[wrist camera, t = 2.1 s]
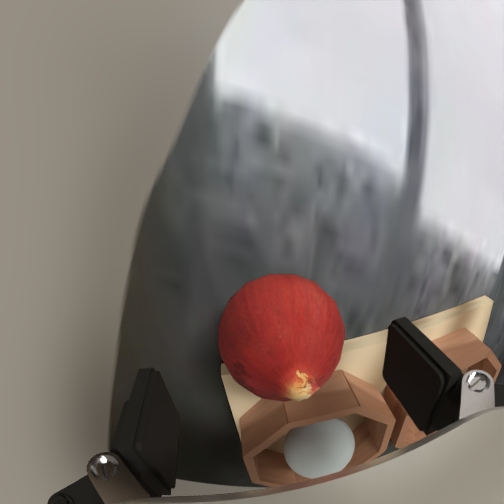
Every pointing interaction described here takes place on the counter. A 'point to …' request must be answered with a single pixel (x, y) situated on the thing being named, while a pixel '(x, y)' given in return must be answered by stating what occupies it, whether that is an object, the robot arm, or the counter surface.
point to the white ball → (319, 448)
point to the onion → (281, 337)
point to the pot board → (374, 355)
